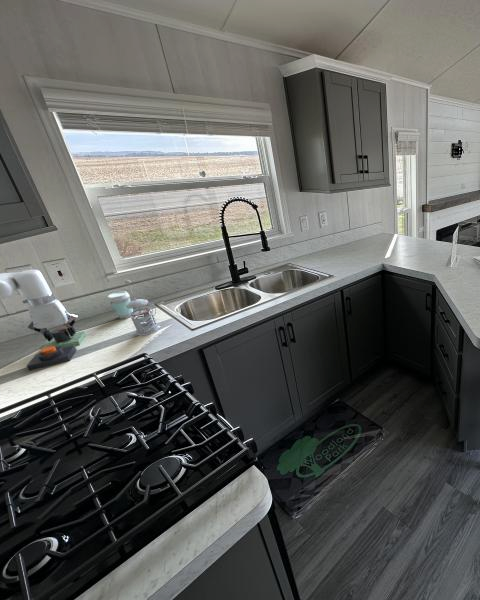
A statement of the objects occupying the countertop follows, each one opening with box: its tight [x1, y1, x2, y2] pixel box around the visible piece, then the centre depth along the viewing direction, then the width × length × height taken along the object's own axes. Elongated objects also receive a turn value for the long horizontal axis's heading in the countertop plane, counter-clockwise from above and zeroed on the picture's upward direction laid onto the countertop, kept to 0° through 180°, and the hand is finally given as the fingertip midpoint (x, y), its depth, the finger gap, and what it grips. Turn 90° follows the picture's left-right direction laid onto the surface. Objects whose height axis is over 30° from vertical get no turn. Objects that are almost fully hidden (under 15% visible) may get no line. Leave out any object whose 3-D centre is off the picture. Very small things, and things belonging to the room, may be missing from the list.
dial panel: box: [40, 330, 87, 351], centre depth 142 cm, size 12×10×2 cm
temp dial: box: [50, 327, 71, 343], centre depth 140 cm, size 5×5×5 cm
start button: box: [40, 346, 57, 355], centre depth 129 cm, size 4×4×2 cm
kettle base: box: [26, 346, 78, 371], centre depth 130 cm, size 12×9×4 cm
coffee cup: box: [107, 290, 134, 320], centre depth 162 cm, size 8×8×12 cm
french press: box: [124, 279, 161, 337], centre depth 146 cm, size 10×12×25 cm
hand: (62, 337), depth 141 cm, fingers open, 6 cm apart
